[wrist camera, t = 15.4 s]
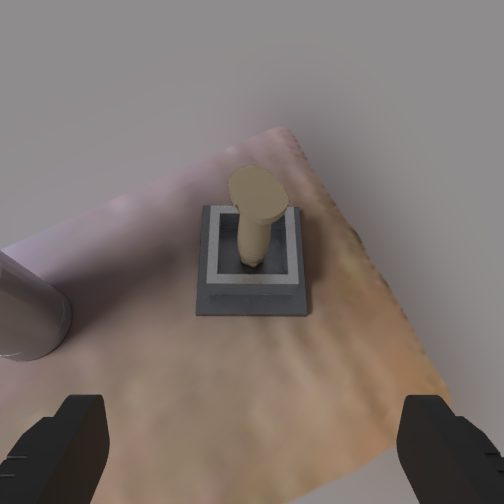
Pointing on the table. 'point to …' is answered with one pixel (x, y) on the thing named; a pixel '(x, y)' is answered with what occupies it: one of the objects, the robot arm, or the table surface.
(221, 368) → the table surface
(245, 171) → the handle
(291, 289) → the socket
